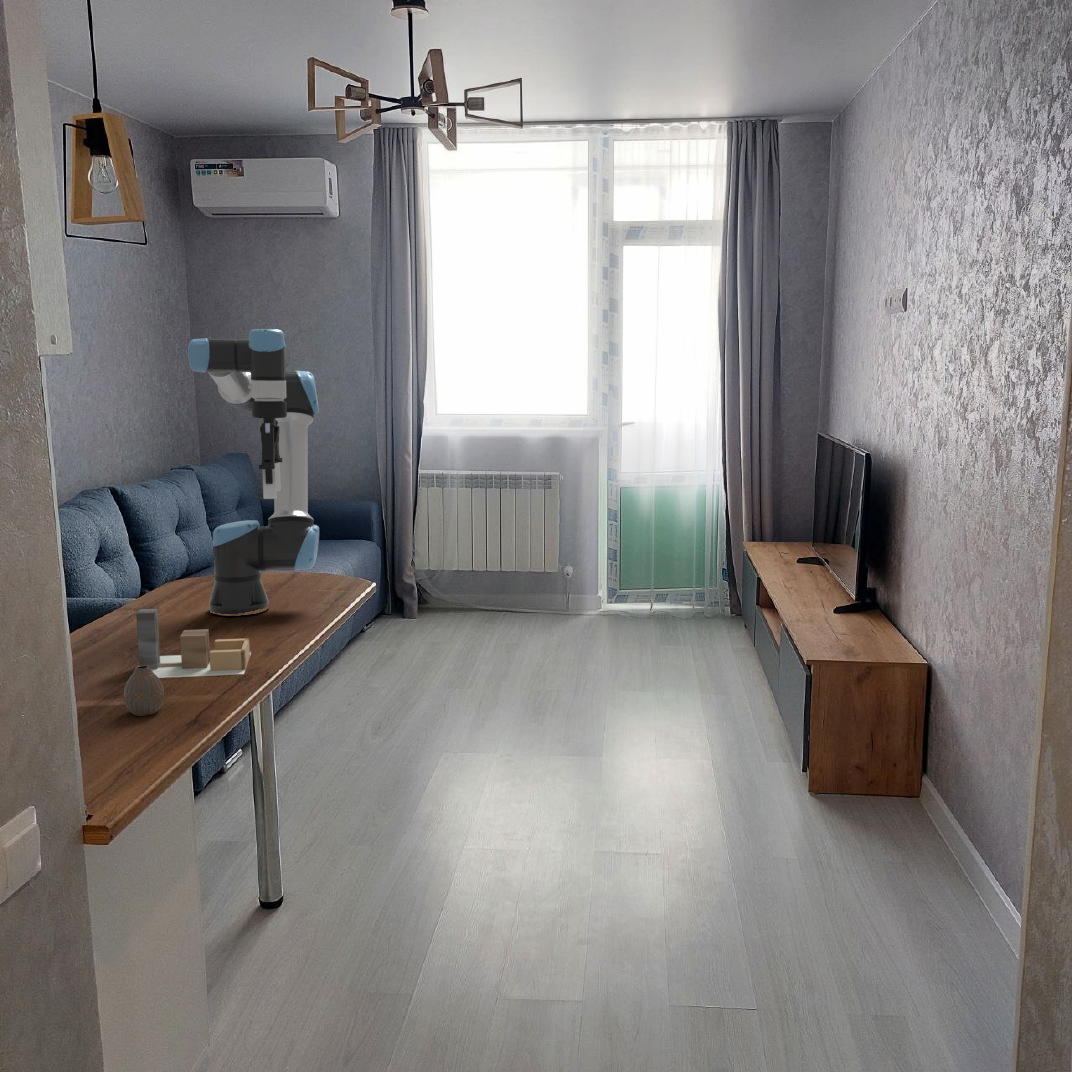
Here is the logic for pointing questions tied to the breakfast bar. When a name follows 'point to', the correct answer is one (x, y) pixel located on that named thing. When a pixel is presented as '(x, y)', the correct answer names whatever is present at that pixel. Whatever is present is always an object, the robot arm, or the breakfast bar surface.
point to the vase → (143, 692)
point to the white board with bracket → (212, 661)
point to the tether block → (192, 641)
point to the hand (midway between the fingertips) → (272, 494)
